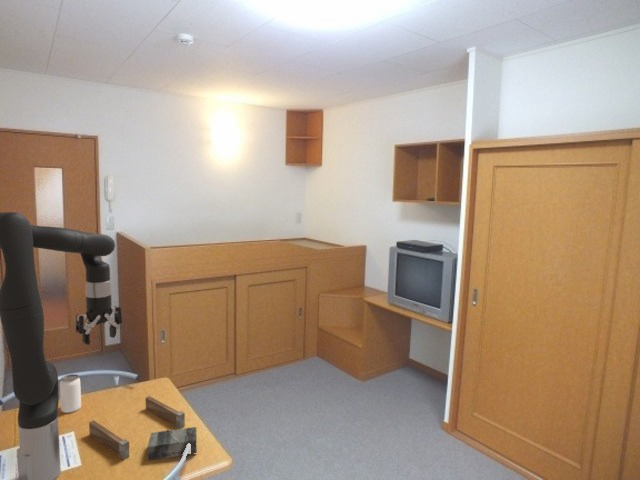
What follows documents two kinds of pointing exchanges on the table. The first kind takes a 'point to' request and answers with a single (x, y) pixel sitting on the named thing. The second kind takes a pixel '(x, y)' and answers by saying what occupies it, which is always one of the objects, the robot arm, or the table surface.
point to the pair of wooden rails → (122, 445)
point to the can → (70, 393)
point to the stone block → (171, 443)
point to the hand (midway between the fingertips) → (100, 340)
